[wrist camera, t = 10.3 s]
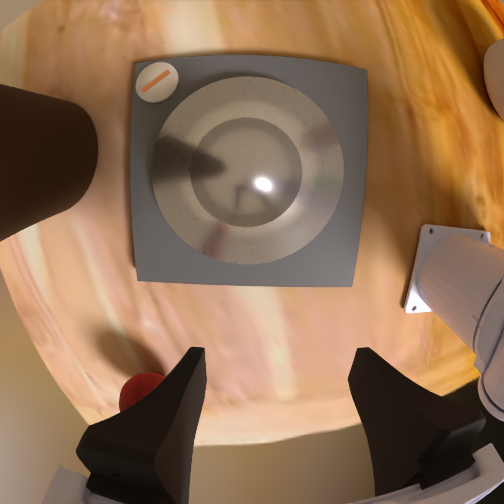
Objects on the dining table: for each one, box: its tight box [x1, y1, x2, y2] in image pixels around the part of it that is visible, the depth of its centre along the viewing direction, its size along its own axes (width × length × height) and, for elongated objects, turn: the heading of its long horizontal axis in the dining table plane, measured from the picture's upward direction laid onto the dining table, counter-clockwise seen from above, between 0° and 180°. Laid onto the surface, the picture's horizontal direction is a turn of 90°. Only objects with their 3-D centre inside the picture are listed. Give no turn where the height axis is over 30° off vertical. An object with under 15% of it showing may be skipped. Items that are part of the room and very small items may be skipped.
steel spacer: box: [190, 117, 302, 227], centre depth 13 cm, size 4×4×6 cm
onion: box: [119, 372, 165, 412], centre depth 20 cm, size 6×6×8 cm
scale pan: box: [151, 76, 344, 265], centre depth 17 cm, size 12×12×1 cm
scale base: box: [130, 55, 368, 287], centre depth 18 cm, size 16×16×2 cm
